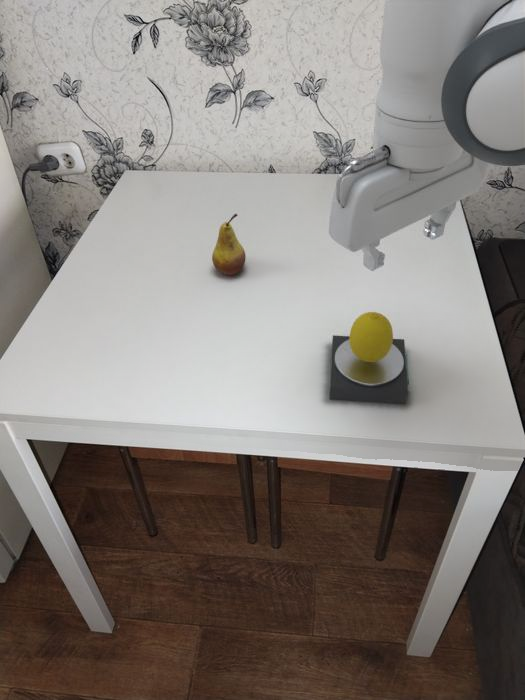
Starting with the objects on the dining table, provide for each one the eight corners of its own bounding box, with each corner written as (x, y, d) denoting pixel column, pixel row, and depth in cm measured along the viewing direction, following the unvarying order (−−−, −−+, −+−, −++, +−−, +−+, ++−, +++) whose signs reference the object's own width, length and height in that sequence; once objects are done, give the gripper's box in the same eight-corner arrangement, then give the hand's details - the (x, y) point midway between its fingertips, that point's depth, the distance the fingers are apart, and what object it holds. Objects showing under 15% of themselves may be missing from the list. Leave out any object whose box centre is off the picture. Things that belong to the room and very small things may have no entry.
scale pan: (401, 340, 83) (402, 337, 82) (405, 389, 76) (405, 386, 76) (335, 337, 84) (335, 334, 83) (333, 384, 77) (333, 381, 77)
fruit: (244, 258, 102) (239, 196, 94) (248, 278, 98) (244, 215, 90) (212, 262, 102) (204, 200, 94) (215, 282, 98) (208, 219, 90)
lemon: (387, 346, 81) (394, 301, 76) (390, 375, 77) (397, 330, 72) (347, 344, 82) (351, 299, 76) (347, 373, 78) (351, 328, 72)
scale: (404, 352, 85) (406, 339, 83) (407, 405, 78) (410, 392, 76) (331, 348, 86) (332, 335, 84) (329, 400, 79) (330, 387, 77)
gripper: (361, 179, 52) (353, 301, 61) (513, 113, 60) (485, 230, 69) (316, 154, 56) (315, 272, 65) (464, 95, 63) (443, 209, 73)
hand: (403, 250), depth 67 cm, fingers open, 8 cm apart
